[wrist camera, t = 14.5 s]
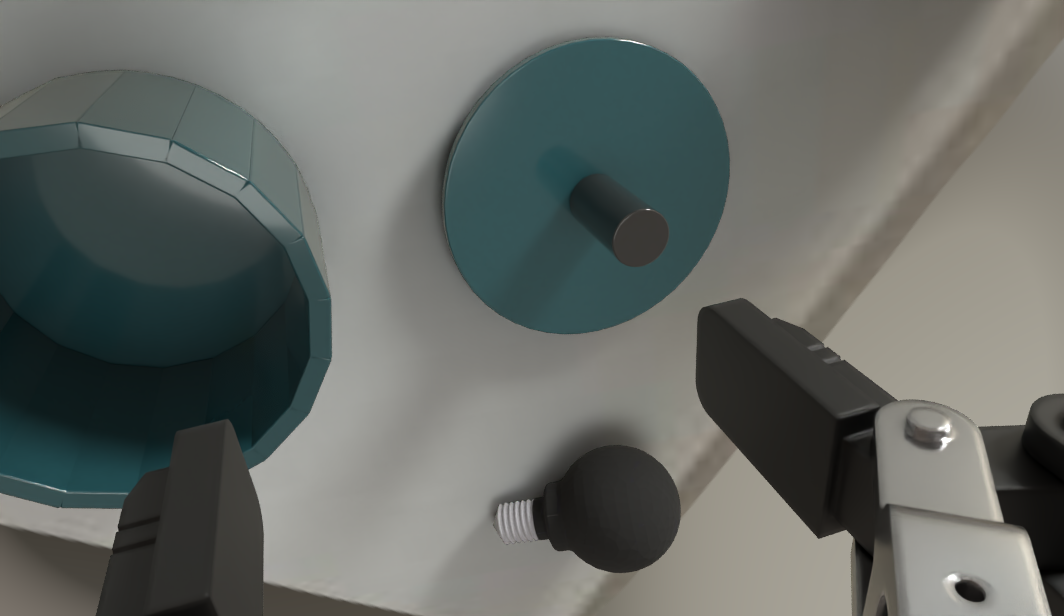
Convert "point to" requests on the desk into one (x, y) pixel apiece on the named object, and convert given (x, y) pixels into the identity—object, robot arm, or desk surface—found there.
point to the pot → (148, 283)
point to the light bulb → (602, 511)
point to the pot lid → (585, 185)
